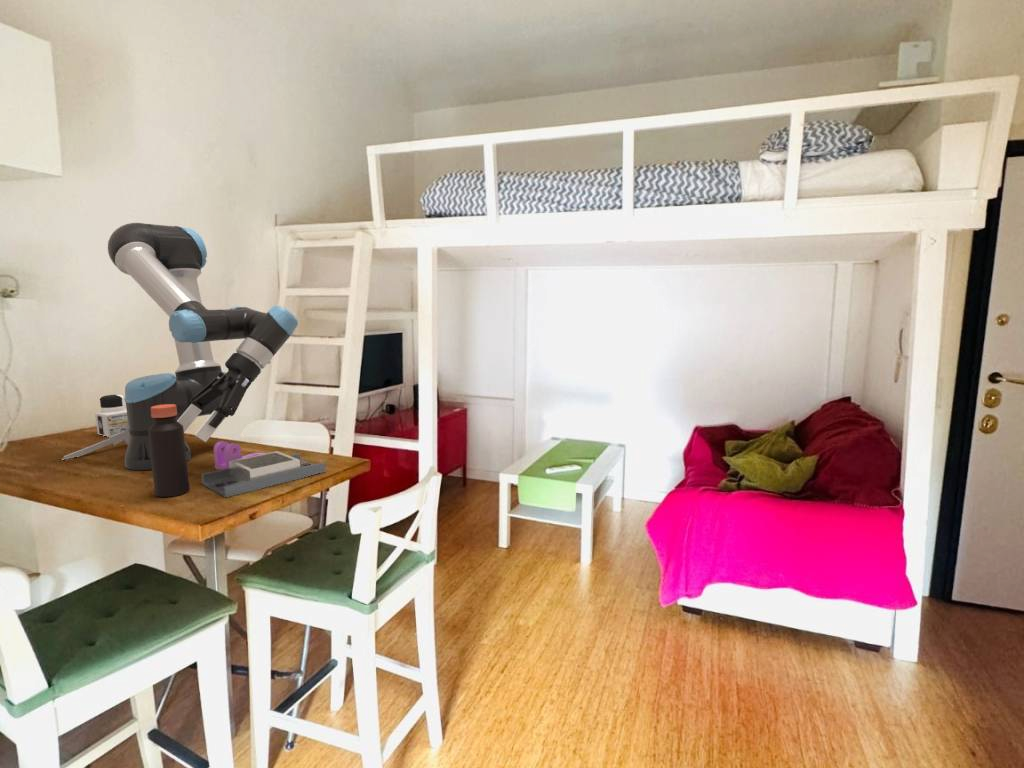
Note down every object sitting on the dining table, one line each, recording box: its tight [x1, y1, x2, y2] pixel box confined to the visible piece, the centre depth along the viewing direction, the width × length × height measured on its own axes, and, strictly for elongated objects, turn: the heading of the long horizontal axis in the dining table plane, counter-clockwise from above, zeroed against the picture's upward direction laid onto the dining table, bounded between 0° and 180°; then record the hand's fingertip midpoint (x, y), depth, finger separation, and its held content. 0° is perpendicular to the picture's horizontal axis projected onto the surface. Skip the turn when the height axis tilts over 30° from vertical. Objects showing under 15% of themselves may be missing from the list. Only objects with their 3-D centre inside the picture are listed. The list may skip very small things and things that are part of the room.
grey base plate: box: [201, 450, 326, 498], centre depth 137 cm, size 14×24×4 cm, turn 137°
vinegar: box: [148, 404, 190, 498], centre depth 126 cm, size 7×7×20 cm
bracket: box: [213, 441, 266, 470], centre depth 150 cm, size 13×6×7 cm, turn 153°
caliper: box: [61, 426, 130, 460], centre depth 162 cm, size 20×1×6 cm, turn 154°
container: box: [94, 394, 129, 438], centre depth 184 cm, size 8×8×13 cm
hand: (188, 434), depth 127 cm, fingers open, 13 cm apart
